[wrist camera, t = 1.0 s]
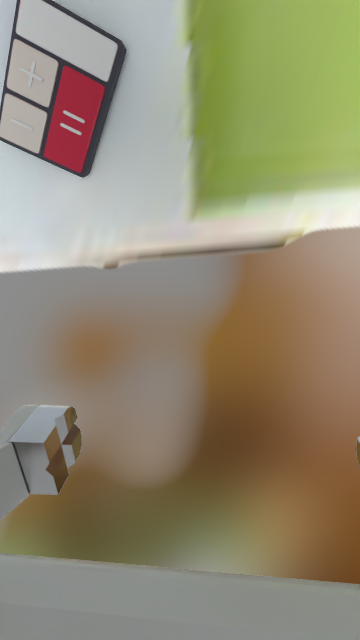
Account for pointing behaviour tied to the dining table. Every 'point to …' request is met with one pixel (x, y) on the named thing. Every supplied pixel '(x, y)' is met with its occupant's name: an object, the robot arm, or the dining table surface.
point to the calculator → (58, 85)
